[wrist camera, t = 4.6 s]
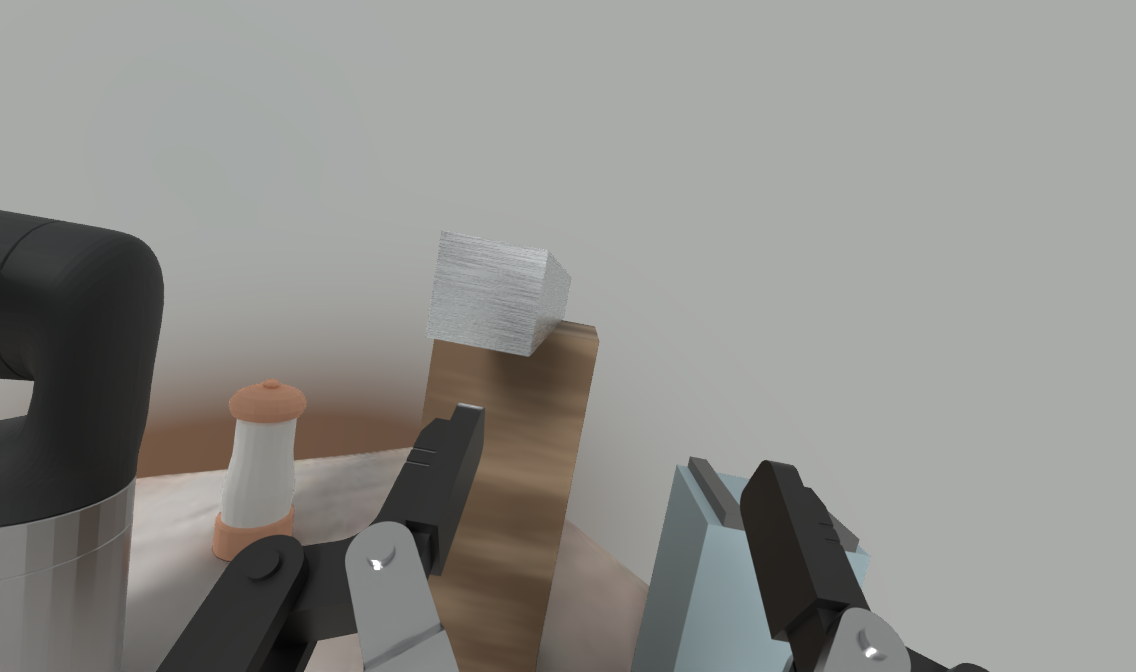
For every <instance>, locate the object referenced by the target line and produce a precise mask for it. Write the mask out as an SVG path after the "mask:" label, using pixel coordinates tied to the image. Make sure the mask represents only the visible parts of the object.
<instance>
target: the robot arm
mask: <svg viewBox="0 0 1136 672" xmlns="http://www.w3.org/2000/svg"><path fill="white" fill-rule="evenodd" d="M163 305H164V283H163V277H162V271H161V267H160V265H159V262H158V260H157V257H156V256H155V254H154V253H153V251H152V250H151V248H150V247H149V246H148V245H147V244H145V243H144V242H143V241H142V240H140V239H139V238H136V237H134V236H132V235H130V234H126V233H123V232H119V231H115V230H110V229H105V228H100V227H94V226H88V225H83V224H77V223H71V222H65V221H60V220H54V219H48V218H42V217H37V216H30V215H25V214H19V213H13V212H7V211H2V210H0V379H13V380H28V381H34V387H33V394H32V399H31V403H30V406H29V410H28V414H27V415H25V416H20V417H15V418H10V419H4V420H0V672H120V666H121V655H122V647H123V634H124V622H125V610H126V598H127V586H128V574H129V561H130V549H131V537H132V525H133V509H134V497H135V485H136V471H137V461H138V453H139V449H140V445H141V441H142V437H143V433H144V429H145V426H146V420H147V414H148V409H149V400H150V391H151V383H152V376H153V369H154V363H155V357H156V351H157V345H158V340H159V334H160V328H161V322H162V313H163ZM484 425H485V407H481V406H476V405H470V404H465V403H458V404H457V406H456V408H455V410H454V412H453V415H452V417H451V419H450V420H446V419H440V418H435V419H434V420H433V421H432V422H431V423H429V424H428V425H427V426H426V427H425V428H424V429H423V430H422V431H421V432H420V435H419V436H418V438H417V441H416V442H415V444H414V446H413V450H411V452H410V454H409V456H408V458H407V461H406V463H405V464H404V466H403V468H402V470H401V472H400V474H399V476H398V477H397V479H396V481H395V483H394V485H393V487H392V489H391V491H390V493H389V495H388V497H387V499H386V501H385V503H384V505H383V507H382V509H381V511H380V513H379V514H378V516H377V517H376V519H375V520H374V521H373V522H372V523H371V524H370V525H369V526H368V527H367V528H366V529H364V530H363V531H362V532H360V533H358V534H357V535H355V536H352V537H350V538H347V539H344V540H340V541H335V542H328V543H321V544H314V545H307V546H302V545H301V544H300V542H299V541H298V540H296V539H295V538H293V537H291V536H288V535H271V536H267V537H264V538H261V539H259V540H257V541H255V542H253V543H251V544H250V545H248V546H247V547H245V548H244V549H243V550H241V551H240V552H239V553H238V554H237V555H236V556H235V557H234V558H233V560H232V561H231V562H230V564H229V565H228V567H227V568H226V569H225V571H224V572H223V574H222V575H221V577H220V578H219V580H218V581H217V583H216V584H215V586H214V587H213V589H212V590H211V592H210V593H209V595H208V596H207V597H206V599H205V600H204V602H203V603H202V605H201V606H200V608H199V609H198V611H197V612H196V614H195V615H194V617H193V618H192V620H191V621H190V622H189V624H188V625H187V627H186V628H185V630H184V631H183V633H182V634H181V636H180V637H179V639H178V640H177V642H176V643H175V645H174V646H173V648H172V649H171V650H170V652H169V653H168V655H167V656H166V658H165V659H164V661H163V662H162V664H161V665H160V667H159V668H158V670H157V671H156V672H304V670H305V668H306V666H307V664H308V662H309V659H310V657H311V655H312V653H313V650H314V648H315V646H316V644H317V641H319V640H324V639H329V638H334V637H339V636H344V635H349V634H354V633H358V635H359V641H360V646H361V651H362V657H363V663H364V672H459V670H458V666H457V663H456V660H455V657H454V654H453V651H452V648H451V645H450V642H449V639H448V636H447V633H446V631H445V629H444V627H443V625H442V624H441V622H440V620H439V617H438V614H437V611H436V608H435V604H434V601H433V598H432V595H431V592H430V589H429V585H428V582H427V581H428V578H429V576H430V575H435V576H441V575H442V572H443V569H444V566H445V563H446V560H447V557H448V554H449V551H450V548H451V545H452V542H453V539H454V536H455V533H456V530H457V527H458V524H459V521H460V518H461V515H462V512H463V509H464V506H465V504H466V501H467V498H468V495H469V492H470V489H471V486H472V483H473V480H474V477H475V474H476V471H477V468H478V465H479V462H480V458H481V454H482V450H483V443H484ZM740 512H741V517H742V521H743V525H744V529H745V533H746V537H747V541H748V545H749V549H750V553H751V558H752V562H753V566H754V570H755V574H756V578H757V582H758V586H759V590H760V594H761V598H762V602H763V606H764V611H765V615H766V619H767V623H768V627H769V631H770V635H771V639H772V640H778V641H783V642H789V644H790V647H791V651H792V654H791V655H790V656H789V658H788V659H787V661H786V664H785V666H784V669H783V671H782V672H989V671H987V670H986V669H984V668H982V667H980V666H977V665H974V664H970V663H962V664H959V665H957V666H956V667H953V668H951V669H948V668H946V667H944V666H942V665H940V664H938V663H936V662H934V661H933V660H931V659H928V658H927V657H925V656H923V655H921V654H919V653H917V652H915V651H913V650H911V649H909V648H907V647H906V646H905V645H904V643H903V642H902V640H901V639H900V637H899V636H898V634H897V633H896V632H895V631H894V630H893V628H892V627H891V626H890V625H889V624H888V623H887V622H885V621H884V620H883V619H882V618H881V617H879V616H878V615H876V614H874V613H873V612H871V610H870V608H869V606H868V604H867V602H866V600H865V597H864V595H863V593H862V590H861V588H860V586H859V583H858V581H857V579H856V576H855V574H854V572H853V569H852V567H851V565H850V562H849V560H848V558H847V555H846V553H845V551H844V548H843V546H842V545H840V539H839V537H838V534H837V532H836V530H835V529H834V528H833V526H834V525H833V523H832V520H831V518H830V516H829V513H828V511H827V509H826V506H825V505H824V504H823V503H822V501H821V500H820V499H819V498H818V496H817V495H816V494H815V493H814V491H813V490H812V489H811V488H808V487H804V486H803V483H802V481H801V478H800V476H799V473H798V471H797V469H796V468H795V467H794V466H793V465H789V464H784V463H779V462H773V461H768V460H764V461H762V462H761V464H760V465H759V467H758V468H757V470H756V471H755V473H754V474H753V476H752V477H751V479H750V480H749V482H748V483H747V485H746V486H745V488H744V489H743V491H742V494H741V498H740Z"/></svg>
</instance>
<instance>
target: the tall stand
mask: <svg viewBox="0 0 1136 672" xmlns="http://www.w3.org/2000/svg"><path fill="white" fill-rule="evenodd" d="M598 346H599V339H598V336H597V332H596V329H595V327H594V326H589V325H584V324H579V323H573V322H568V321H563V320H561V322H560V323H559V324H558V325H557V326H556V327H555V328H554V329H553V331H552V332H551V333H550V334H549V335H548V336H547V337H546V339H545V340H544V341H543V342H542V343H541V344H540V345H539V346H538V348H537V349H536V350H535V351H534V352H533V353H532V354H531V356H530V357H527V356H522V355H517V354H511V353H506V352H501V351H496V350H491V349H485V348H480V347H475V346H470V345H465V344H459V343H454V342H449V341H444V340H439V339H434V344H433V351H432V357H431V364H430V371H429V377H428V383H427V390H426V396H425V402H424V409H423V416H422V422H421V428H420V432H421V431H422V430H423V429H424V428H425V427H426V426H427V425H428V424H429V423H431V422H432V421H433V420H434V419H435V418H440V419H446V420H450V419H451V417H452V415H453V412H454V410H455V408H456V406H457V404H458V403H465V404H470V405H476V406H481V407H485V425H484V443H483V450H482V454H481V458H480V462H479V465H478V468H477V471H476V474H475V477H474V480H473V483H472V486H471V489H470V492H469V495H468V498H467V501H466V504H465V506H464V509H463V512H462V515H461V518H460V521H459V524H458V527H457V530H456V533H455V536H454V539H453V542H452V545H451V548H450V551H449V554H448V557H447V560H446V563H445V566H444V569H443V572H442V575H441V576H435V575H430V576H429V578H428V581H427V582H428V585H429V589H430V592H431V595H432V598H433V601H434V604H435V608H436V611H437V614H438V617H439V620H440V622H441V624H442V625H443V627H444V629H445V631H446V633H447V636H448V639H449V642H450V645H451V648H452V651H453V654H454V657H455V660H456V663H457V666H458V670H459V672H535V670H536V663H537V656H538V651H539V646H540V641H541V635H542V630H543V625H544V620H545V615H546V610H547V605H548V600H549V595H550V590H551V585H552V580H553V574H554V569H555V564H556V559H557V554H558V549H559V544H560V539H561V534H562V529H563V524H564V518H565V513H566V508H567V503H568V498H569V493H570V488H571V483H572V477H573V472H574V468H575V463H576V457H577V452H578V447H579V442H580V437H581V432H582V427H583V422H584V417H585V412H586V406H587V401H588V396H589V391H590V386H591V381H592V376H593V371H594V366H595V361H596V356H597V351H598Z"/></svg>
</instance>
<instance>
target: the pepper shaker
mask: <svg viewBox="0 0 1136 672" xmlns="http://www.w3.org/2000/svg"><path fill="white" fill-rule="evenodd" d="M306 405H307V403H306V399H305V397H304V395H303V393H302V392H301V391H300V390H298V389H297V388H294V387H292V386H289V385H285V384H280V382H279V380H276V379H267V380H265V381H264V382H263V383H259V384H254V385H251V386H247V387H244V388H241V389H240V390H238V391H237V392H236V393H235V394H234V395H233V396H232V398H231V400H230V402H229V408H230V411H231V414H232V415H233V416H234V417H235V418H237V423H236V431H235V440H234V448H233V455H232V458H231V461H230V464H229V468H228V471H227V474H226V477H225V481H224V484H223V489H222V504H221V512H220V513H219V514H218V516H217V517H216V521H215V530H214V540H213V553H214V554H215V555H216V556H217V557H218V558H220V559H223V560H225V561H232V560H233V558H234V557H235V556H236V555H237V554H238V553H239V552H240V551H241V550H243V549H244V548H245V547H247V546H248V545H250V544H251V543H253V542H255V541H257V540H259V539H261V538H264V537H267V536H271V535H288V536H291V535H292V527H293V519H294V507H293V505H292V498H293V492H294V485H295V474H294V460H293V446H294V437H295V428H296V419H297V417H299V416H300V415H301V414H302V412H303V411H304V409H305V407H306Z"/></svg>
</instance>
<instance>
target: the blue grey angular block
mask: <svg viewBox="0 0 1136 672" xmlns="http://www.w3.org/2000/svg"><path fill="white" fill-rule="evenodd" d="M749 480H750V479H747V478H741V477H736V476H731V475H726V474H721V473H716V472H715V471H714V470H713V468H712V467H711V465H710V464H709V463H708V461H707V460H705V459H700V458H695V457H690V459H689V463H688V467H685V466H680V465H677V466H676V471H675V475H674V480H673V484H672V489H671V493H670V498H669V502H668V507H667V512H666V515H665V520H664V524H663V529H662V533H661V538H660V542H659V547H658V551H657V556H656V560H655V565H654V569H653V574H652V578H651V583H650V587H649V592H648V596H647V600H646V605H645V609H644V614H643V618H642V623H641V627H640V632H639V636H638V641H637V645H636V650H635V654H634V659H633V663H632V668H631V672H782V671H783V669H784V666H785V664H786V661H787V659H788V658H789V656H790V655H791V654H792V651H791V647H790V644H789V642H783V641H778V640H772V639H771V635H770V631H769V627H768V623H767V619H766V615H765V611H764V606H763V602H762V598H761V594H760V590H759V586H758V582H757V578H756V574H755V570H754V566H753V562H752V558H751V553H750V549H749V545H748V541H747V537H746V533H745V529H744V525H743V521H742V517H741V512H740V498H741V494H742V491H743V489H744V488H745V486H746V485H747V483H748V482H749ZM828 513H829V512H828ZM829 516H830V518H831V520H832V523H833V525H834V526H833V528H834V529H835V530H836V532H837V534H838V537H839V539H840V545H842V546H843V548H844V551H845V553H846V555H847V558H848V560H849V562H850V565H851V567H852V569H853V572H854V574H855V576H856V579H857V581H858V583H859V586H860V588H861V587H862V584H863V580H864V577H865V573H866V570H867V566H868V562H869V559H870V555H869V554H867V553H866V552H865V551H864V550H863V549H862V548H861V547H860V546H859V545H858V542H859V539H858V538H857V537H856V536H855V535H854V534H852V532H851V531H849V530H848V529H847V528H846V527H845V526H843V524H842V523H841V522H839V521H838V520H837V519H836V518H835V517H834V516H833V515H832V514H830V513H829Z"/></svg>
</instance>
